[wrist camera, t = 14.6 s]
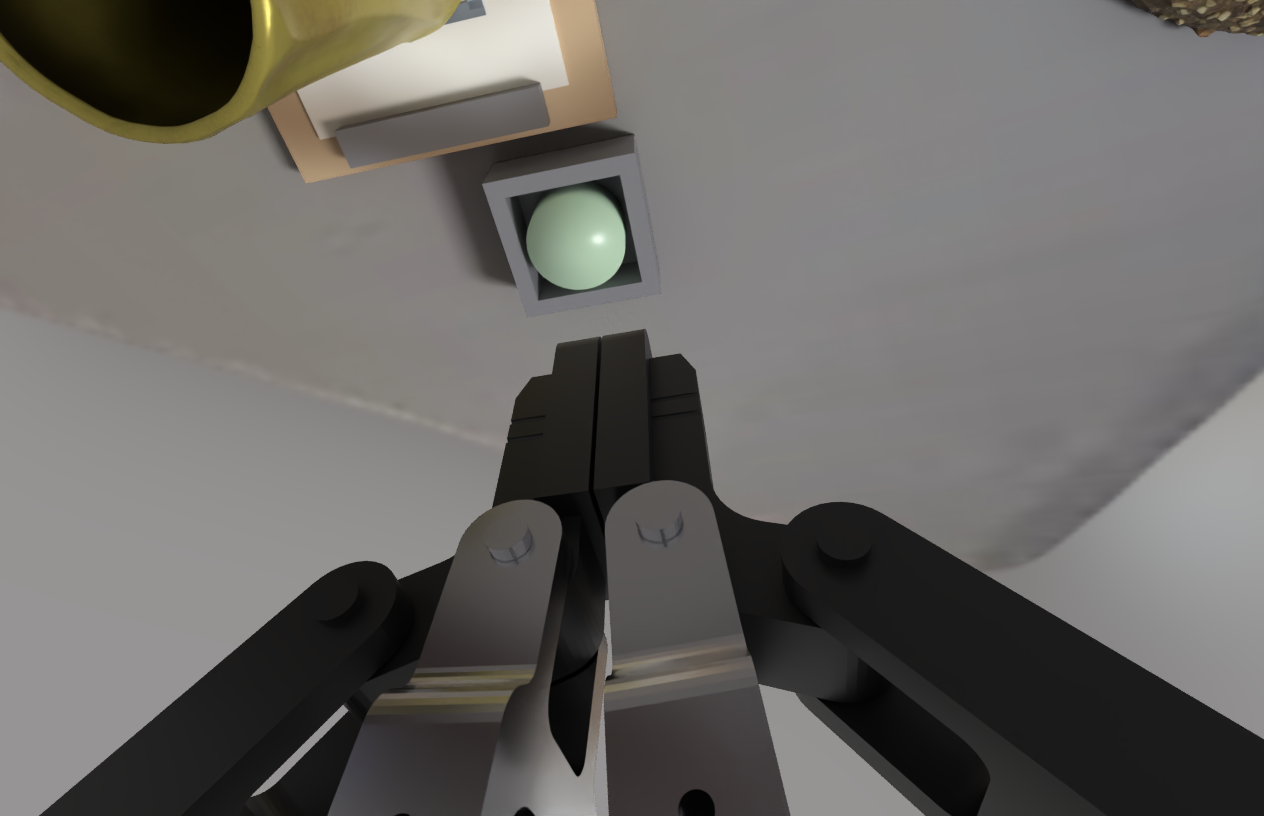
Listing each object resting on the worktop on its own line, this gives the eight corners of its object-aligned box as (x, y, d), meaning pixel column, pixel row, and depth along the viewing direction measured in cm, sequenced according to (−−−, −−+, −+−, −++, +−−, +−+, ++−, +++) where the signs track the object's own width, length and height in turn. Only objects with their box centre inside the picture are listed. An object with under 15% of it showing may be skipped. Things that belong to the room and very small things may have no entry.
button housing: (492, 163, 27) (482, 184, 25) (633, 134, 26) (634, 153, 24) (534, 290, 31) (527, 317, 29) (659, 268, 30) (660, 293, 28)
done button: (520, 189, 27) (513, 207, 25) (614, 170, 26) (613, 187, 25) (546, 275, 29) (541, 297, 28) (633, 260, 29) (633, 280, 27)
